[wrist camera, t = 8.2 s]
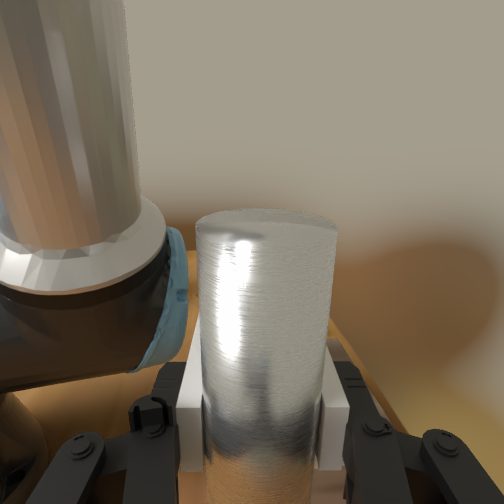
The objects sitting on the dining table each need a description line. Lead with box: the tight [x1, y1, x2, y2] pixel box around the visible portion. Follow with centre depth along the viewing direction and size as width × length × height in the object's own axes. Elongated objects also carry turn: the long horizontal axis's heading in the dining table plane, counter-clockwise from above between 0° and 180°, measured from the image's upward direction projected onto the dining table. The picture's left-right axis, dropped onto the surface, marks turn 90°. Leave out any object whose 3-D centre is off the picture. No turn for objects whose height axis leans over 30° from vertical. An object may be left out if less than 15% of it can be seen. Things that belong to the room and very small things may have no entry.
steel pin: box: [196, 208, 338, 504], centre depth 13 cm, size 4×4×17 cm
